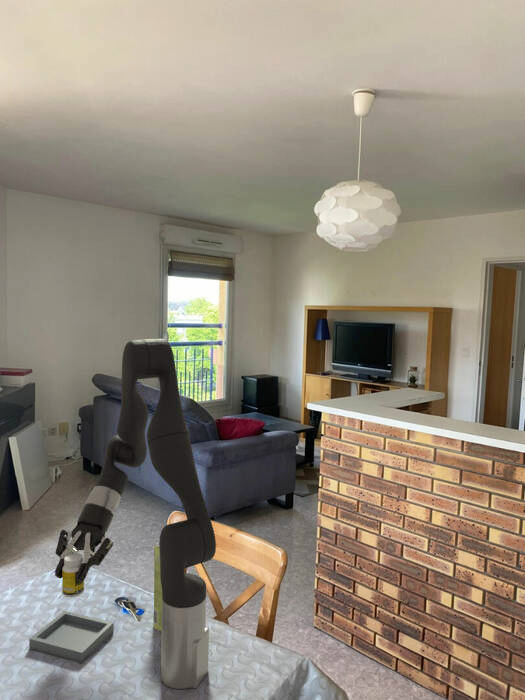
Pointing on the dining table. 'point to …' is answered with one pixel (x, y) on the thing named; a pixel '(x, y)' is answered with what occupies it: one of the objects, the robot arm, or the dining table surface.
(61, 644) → the tray
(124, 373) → the robot arm
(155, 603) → the tube
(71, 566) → the supplement bottle
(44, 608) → the dining table surface
